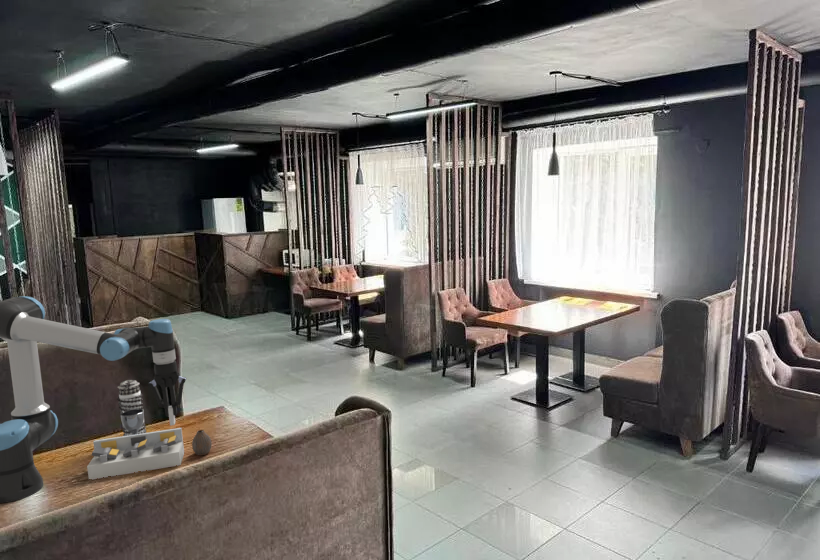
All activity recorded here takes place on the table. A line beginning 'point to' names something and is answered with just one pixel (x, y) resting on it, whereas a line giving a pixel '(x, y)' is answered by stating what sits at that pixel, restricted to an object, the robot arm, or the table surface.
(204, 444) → the vase
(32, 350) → the robot arm
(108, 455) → the switch left
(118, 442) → the switch unit
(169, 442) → the switch right
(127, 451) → the switch middle
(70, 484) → the table surface
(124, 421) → the wine glass
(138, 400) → the decorative candle
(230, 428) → the table surface
